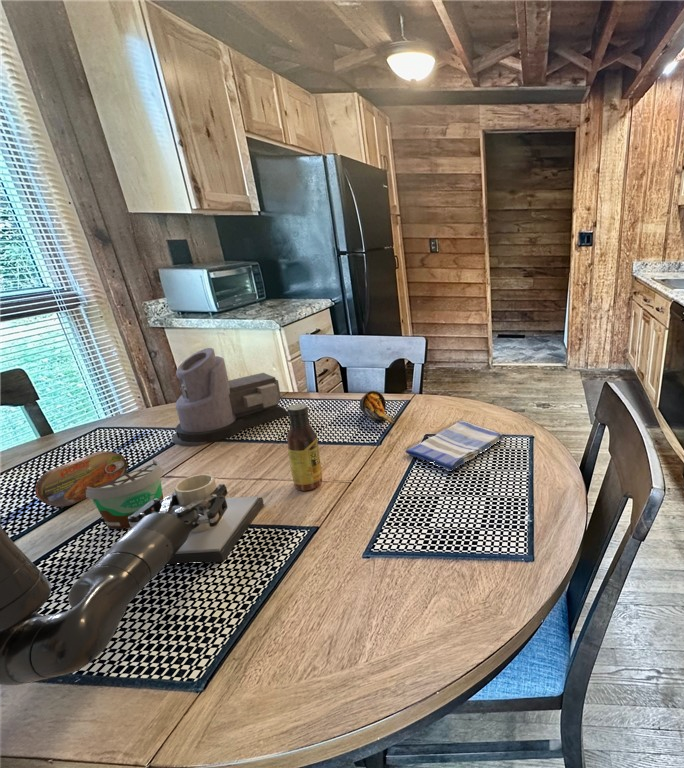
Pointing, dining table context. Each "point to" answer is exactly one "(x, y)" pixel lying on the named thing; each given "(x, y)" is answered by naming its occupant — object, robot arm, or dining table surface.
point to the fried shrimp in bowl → (374, 406)
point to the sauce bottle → (303, 450)
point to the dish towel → (455, 445)
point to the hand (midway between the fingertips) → (205, 488)
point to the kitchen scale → (220, 533)
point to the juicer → (221, 400)
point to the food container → (127, 495)
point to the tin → (79, 478)
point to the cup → (196, 493)
